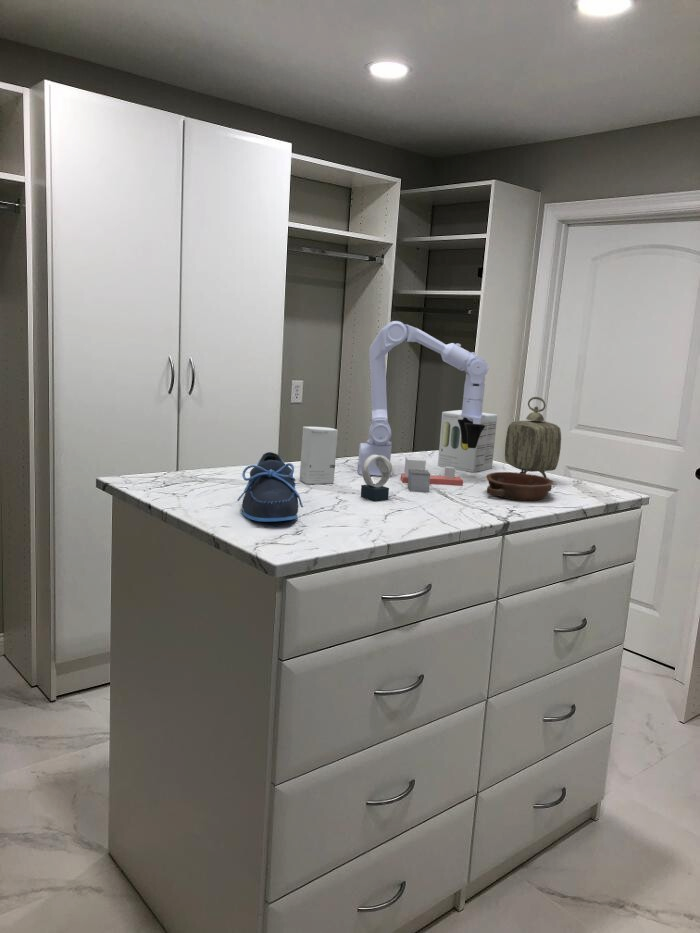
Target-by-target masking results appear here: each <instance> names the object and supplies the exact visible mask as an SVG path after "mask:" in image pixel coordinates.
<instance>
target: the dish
mask: <svg viewBox="0 0 700 933" xmlns="http://www.w3.org/2000/svg"><path fill="white" fill-rule="evenodd" d="M485 478H486V480H487V482H488V486H487V488H486V494H488V495H491V496H495V497H501V498H505V499H509V500H513V501H515V500H516V501H537V500H541V499H544V498H546V497H547V495H548V493H549V492H551V491H552V488H553V486H552V485H553V484H554V481H553V480H552V479H550V478H548V477H547V478H548V479H547V478H545V477H544V476H541V475H536V474H530V473H529V474H527V473H526V474H522V473H520V472H509V471H497V472H496V471H495V472H491V473H488V474H487V475H486V477H485Z"/></svg>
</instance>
